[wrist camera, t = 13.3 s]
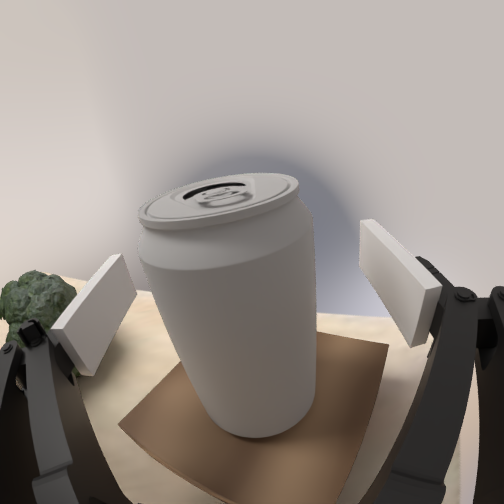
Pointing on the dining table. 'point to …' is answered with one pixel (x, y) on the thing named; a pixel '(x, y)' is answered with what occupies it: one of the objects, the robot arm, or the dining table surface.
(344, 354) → the walnut block
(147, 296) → the dining table surface
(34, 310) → the vegetable
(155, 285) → the beverage can
